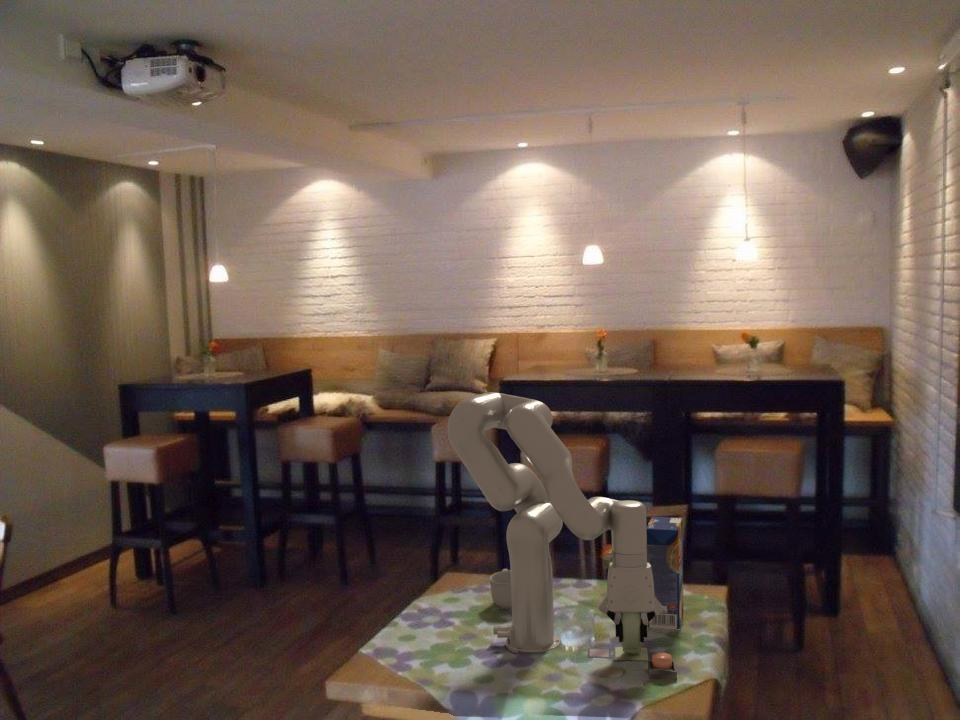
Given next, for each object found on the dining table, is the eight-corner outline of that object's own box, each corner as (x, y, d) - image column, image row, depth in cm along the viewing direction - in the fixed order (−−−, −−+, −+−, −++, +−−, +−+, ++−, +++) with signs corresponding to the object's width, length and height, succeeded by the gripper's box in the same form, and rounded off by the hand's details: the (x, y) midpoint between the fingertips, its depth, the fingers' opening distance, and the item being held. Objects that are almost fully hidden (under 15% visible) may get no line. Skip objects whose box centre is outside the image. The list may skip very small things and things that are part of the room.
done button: (652, 669, 187) (652, 660, 187) (651, 661, 191) (651, 652, 191) (672, 670, 187) (672, 660, 187) (671, 662, 191) (671, 652, 191)
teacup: (533, 612, 231) (532, 581, 230) (490, 613, 231) (489, 582, 230) (530, 594, 244) (530, 565, 244) (490, 595, 245) (489, 566, 244)
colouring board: (579, 686, 187) (579, 673, 186) (581, 648, 206) (581, 636, 206) (679, 689, 184) (678, 676, 184) (671, 650, 204) (671, 638, 203)
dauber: (621, 653, 198) (620, 603, 197) (621, 646, 202) (620, 596, 201) (642, 654, 197) (641, 603, 196) (641, 646, 202) (640, 596, 201)
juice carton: (679, 630, 216) (677, 530, 214) (647, 627, 218) (645, 528, 216) (683, 612, 227) (682, 517, 225) (653, 610, 229) (651, 516, 227)
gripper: (590, 563, 196) (592, 646, 197) (670, 563, 193) (671, 647, 195) (591, 553, 203) (593, 633, 204) (667, 553, 201) (669, 634, 202)
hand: (631, 639), depth 200 cm, fingers closed on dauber, 4 cm apart
